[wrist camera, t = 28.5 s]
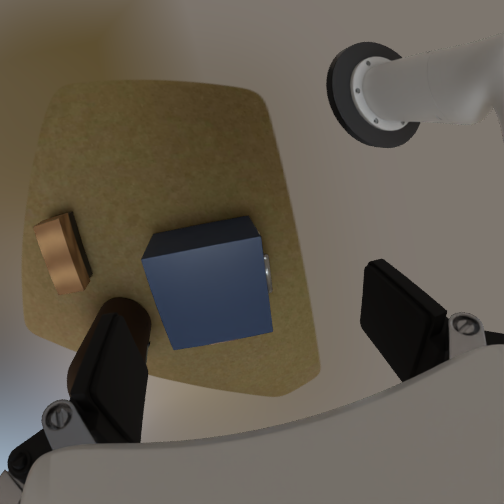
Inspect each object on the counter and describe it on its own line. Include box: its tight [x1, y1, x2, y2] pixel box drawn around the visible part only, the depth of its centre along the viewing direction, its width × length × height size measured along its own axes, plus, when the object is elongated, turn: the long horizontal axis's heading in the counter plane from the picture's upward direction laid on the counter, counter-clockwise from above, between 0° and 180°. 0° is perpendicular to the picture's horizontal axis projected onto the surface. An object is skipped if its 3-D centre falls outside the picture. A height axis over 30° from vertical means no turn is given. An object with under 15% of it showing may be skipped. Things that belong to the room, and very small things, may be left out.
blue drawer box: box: [141, 216, 273, 350], centre depth 38 cm, size 15×14×9 cm
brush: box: [33, 212, 93, 295], centre depth 35 cm, size 11×5×5 cm, turn 8°
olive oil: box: [67, 298, 151, 398], centre depth 32 cm, size 11×11×25 cm
